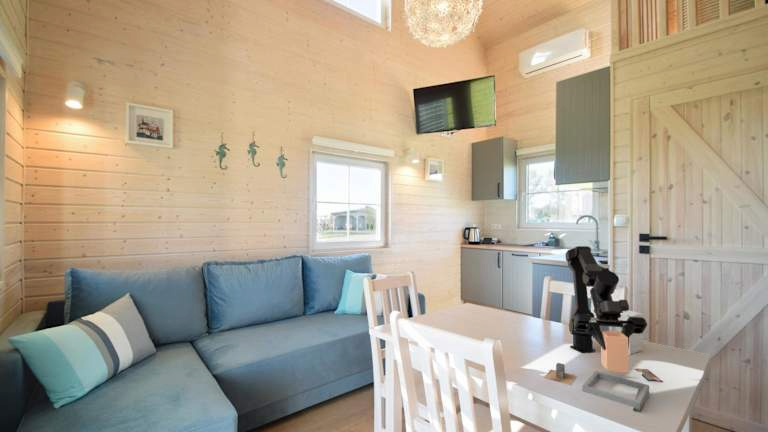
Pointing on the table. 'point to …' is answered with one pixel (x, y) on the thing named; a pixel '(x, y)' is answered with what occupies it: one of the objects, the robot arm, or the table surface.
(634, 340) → the skincare box
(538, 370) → the table surface
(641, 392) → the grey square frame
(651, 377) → the chocolate bar
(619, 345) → the sleeve
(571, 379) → the stake block
